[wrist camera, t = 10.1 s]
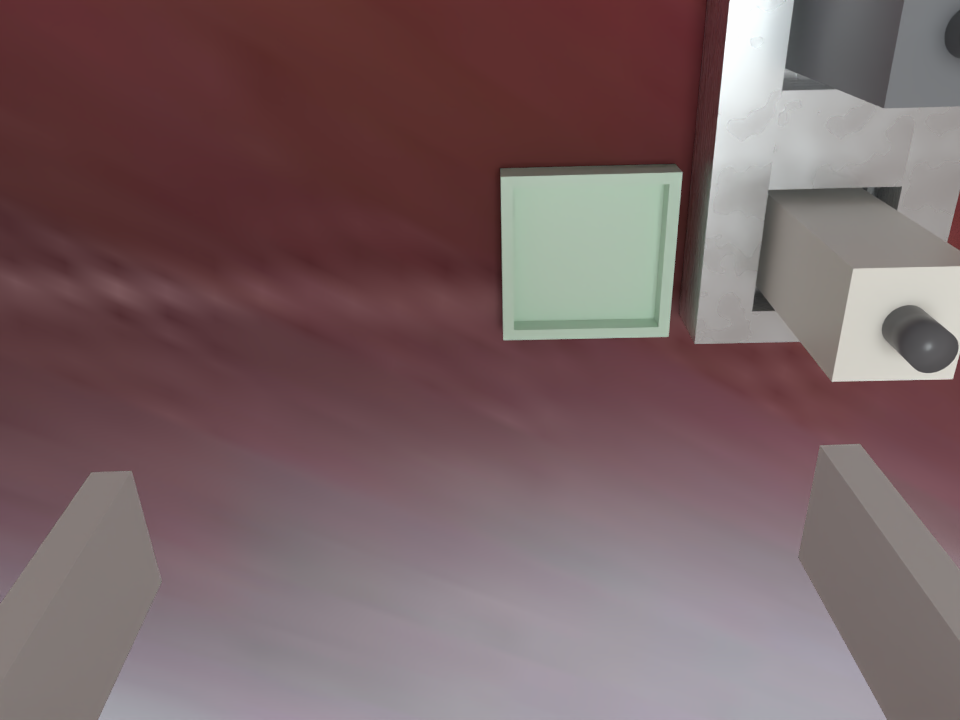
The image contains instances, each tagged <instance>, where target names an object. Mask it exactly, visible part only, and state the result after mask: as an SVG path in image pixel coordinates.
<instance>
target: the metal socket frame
mask: <svg viewBox="0 0 960 720" xmlns="http://www.w3.org/2000/svg"><path fill="white" fill-rule="evenodd" d="M793 4H794V0H707V8H706V19H705V30H704V41H703V52H702V63H701V74H700V85H699V96H698V107H697V118H696V129H695V140H694V151H693V162H692V173H691V185H690V196H689V207H688V218H687V229H686V240H685V251H684V262H683V273H682V284H681V295H680V306H679V315H680V317H681V319H682V321H683V323H684V324H685V326H686V328H687V330H688V332H689V334H690V336H691V338H692V340H693V342H694V344H713V343H760V342H800V341H799V340H798V338H797V337H796V336H795V335H794V333H793V332H792V331H791V330H790V328H789V327H788V326H787V325H786V323H785V322H784V321H783V320H782V318H781V317H780V316H779V315H778V313H777V312H776V311H775V309H774V308H773V307H772V306H771V304H770V303H769V302H768V301H767V299H766V298H765V297H764V296H763V294H762V293H761V292H760V291H759V289H758V288H757V287H756V279H757V271H758V264H759V256H760V249H761V242H762V234H763V227H764V219H765V212H766V204H767V197H768V190H782V189H823V188H863V189H864V190H866V191H867V192H869V193H870V194H872V195H874V196H875V197H877V198H878V199H880V200H881V201H883V202H884V203H886V204H888V205H889V206H891V207H892V208H894V209H895V210H897V211H899V212H900V213H902V214H903V215H905V216H906V217H908V218H909V219H911V220H913V221H914V222H916V223H917V224H919V225H920V226H922V227H923V228H925V229H927V230H928V231H930V232H931V233H933V234H934V235H936V236H937V237H939V238H941V239H942V240H944V241H945V242H947V240H948V236H949V232H950V228H951V224H952V220H953V216H954V212H955V207H956V203H957V199H958V195H959V191H960V106H956V107H919V108H881V107H879V106H877V105H874V104H872V103H869V102H867V101H864V100H862V99H859V98H857V97H854V96H852V95H849V94H847V93H844V92H842V91H840V90H837V89H835V88H832V87H830V86H827V85H825V84H822V83H820V82H817V81H815V80H812V79H810V78H807V77H805V76H803V75H800V74H798V73H795V72H793V71H790V70H788V69H785V63H786V56H787V48H788V41H789V34H790V26H791V19H792V11H793Z"/></svg>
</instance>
